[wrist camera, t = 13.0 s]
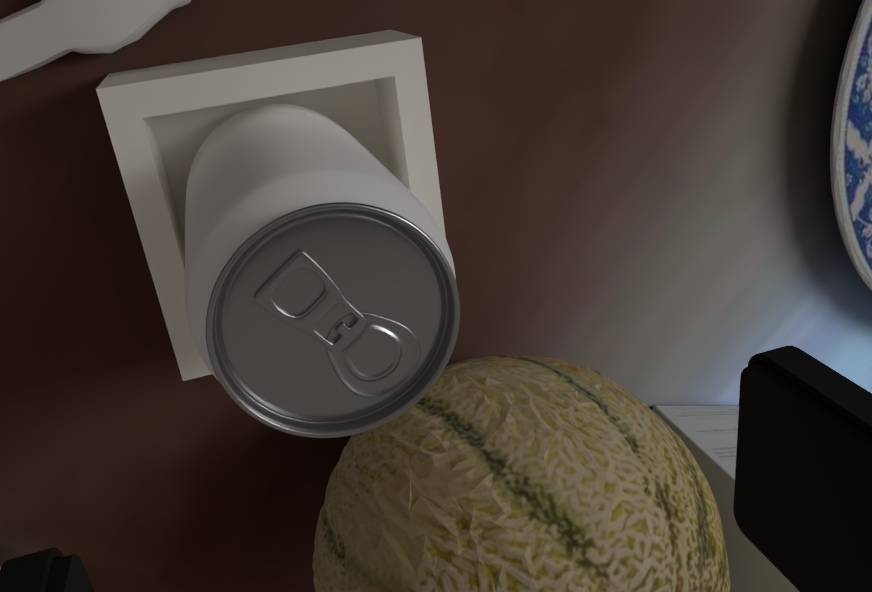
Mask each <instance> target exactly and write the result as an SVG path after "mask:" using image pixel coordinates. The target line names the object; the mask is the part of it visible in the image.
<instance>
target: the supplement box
mask: <svg viewBox="0 0 872 592" xmlns="http://www.w3.org/2000/svg"><path fill="white" fill-rule="evenodd" d="M652 411H653V412H655V413H656V414H657V415H658V416H659V417H660V418H661V419H662V420H663V421H664V422H665V423H666V424H667V425H668V426H669V427H670V428H671V429H672V430H673V431H674V432H675V433H676V434H677V435H678V436H679V437H680V438H681V439H682V441H683V442H684V444H685V445H686V446H687V448H688V449H689V451H690V452H691V454H692V455H693V457H694V458H695V460H696V462H697V463H698V465H699V467H700V469H701V470H702V472H703V474H704V476H705V478H706V479H707V481H708V484H709V486H710V489H711V491H712V494H713V496H714V499H715V501H716V504H717V508H718V512H719V515H720V519H721V524H722V530H723V537H724V542H725V548H726V553H727V559H728V568H729V578H730V592H799V590H798V589H797V588H796V587H795V586H794V585H793V584H792V583H791V582H790V581H789V580H788V579H787V578H786V577H785V576H784V575H783V574H782V573H781V572H780V571H779V570H778V569H777V568H776V567H775V566H774V565H773V564H772V563H771V562H770V561H769V560H768V559H767V558H766V557H765V556H764V555H763V554H762V553H761V552H760V551H759V550H758V549H757V548H756V547H755V546H754V545H753V544H752V543H751V542H750V541H749V540H748V538H747V537H746V536H745V535H744V534H743V533H742V532H741V530H740V529H739V527H738V525H737V523H736V520H735V517H734V511H733V505H734V487H735V469H736V451H737V434H738V416H739V405H731V406H653V408H652Z"/></svg>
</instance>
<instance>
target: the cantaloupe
mask: <svg viewBox="0 0 872 592" xmlns="http://www.w3.org/2000/svg"><path fill="white" fill-rule="evenodd" d="M314 545H315V550H314V553H313V563H312V567H313V571H314V581H313V582H314V587H315V592H730V578H729V568H728V559H727V553H726V548H725V542H724V537H723V530H722V524H721V519H720V515H719V512H718V508H717V504H716V501H715V499H714V496H713V494H712V491H711V489H710V486H709V484H708V481H707V479H706V478H705V476H704V474H703V472H702V470H701V469H700V467H699V465H698V463H697V462H696V460H695V458H694V457H693V455H692V454H691V452H690V451H689V449H688V448H687V446H686V445H685V444H684V442H683V441H682V439H681V438H680V437H679V436H678V435H677V434H676V433H675V432H674V431H673V430H672V429H671V428H670V427H669V426H668V425H667V424H666V423H665V422H664V421H663V420H662V419H661V418H660V417H659V416H658V415H657V414H656V413H655V412H653V411H652V410H651V409H650V408H648V407H647V406H646V404H645V403H644V402H643V401H641V400H640V399H638V398H637V397H635V396H634V395H633V394H631V393H630V392H629V391H628V390H627V389H626V388H625V387H624V386H622V385H620V384H618V383H617V382H615V381H613V380H611V379H610V378H608V377H606V376H604V375H603V374H601V373H599V372H597V371H594V370H591V369H589V368H587V367H585V366H578V365H573V364H571V363H569V362H567V361H565V360H562V359H556V358H550V357H540V356H536V355H508V354H506V355H503V356H500V357H495V356H485V357H482V358H475V359H465V360H462V361H460V362H457V363H454V364H451V365H448V366H446V367H445V369H444V371H443V372H442V374H441V376H440V377H439V378H438V380H437V381H436V383H435V384H434V385H433V386H432V388H431V389H430V390H429V391H428V392H427V393H426V394H425V395H424V396H423V397H422V398H421V399H420V400H419V401H418V402H417V403H416V404H415V405H414V406H412V407H411V408H410V409H409V410H407V411H406V412H404V413H403V414H401V415H400V416H398V417H397V418H395V419H393V420H391V421H390V422H388V423H386V424H384V425H381V426H379V427H377V428H374V429H372V430H369V431H366V432H363V433H359V434H355V435H351V437H350V439H349V441H348V443H347V445H346V446H345V447H344V449H343V451H342V454H341V456H340V459H339V461H338V463H337V465H336V466H335V468H334V469H333V471H332V473H331V475H330V478H329V482H328V485H327V488H326V495H325V502H324V504H323V506H322V508H321V510H320V514H319V518H318V523H317V527H316V533H315V541H314Z"/></svg>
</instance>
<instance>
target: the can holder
mask: <svg viewBox="0 0 872 592" xmlns="http://www.w3.org/2000/svg"><path fill="white" fill-rule="evenodd" d="M96 91H97V95H98V98H99V101H100V105H101V108H102V112H103V115H104V118H105V122H106V125H107V128H108V132H109V135H110V138H111V142H112V145H113V148H114V152H115V155H116V158H117V162H118V165H119V168H120V172H121V175H122V179H123V182H124V185H125V189H126V192H127V195H128V199H129V202H130V205H131V209H132V212H133V215H134V219H135V222H136V225H137V229H138V232H139V235H140V239H141V242H142V245H143V249H144V252H145V256H146V259H147V262H148V266H149V269H150V272H151V276H152V279H153V282H154V286H155V289H156V292H157V296H158V299H159V302H160V306H161V309H162V312H163V316H164V319H165V322H166V326H167V329H168V333H169V336H170V339H171V343H172V346H173V349H174V353H175V356H176V359H177V363H178V366H179V369H180V373H181V376H182V379H183V381H186V380H190V379H194V378H198V377H202V376H206V375H211V374H212V373H211V372H210V370H209V369H208V367H207V366H206V365H205V363H204V361H203V360H202V358H201V356H200V354H199V352H198V350H197V348H196V346H195V343H194V340H193V338H192V334H191V331H190V327H189V323H188V319H187V312H186V301H185V211H186V189H187V181H188V175H189V171H190V168H191V165H192V162H193V160H194V157H195V155H196V153H197V151H198V150H199V148H200V146H201V145H202V143H203V142H204V141H205V139H206V138H207V137H208V136H209V134H210V133H211V132H212V131H213V130H214V129H215V128H216V127H218V126H219V125H220V124H221V123H223V122H224V121H225V120H227V119H228V118H230V117H232V116H233V115H235V114H237V113H239V112H242V111H244V110H247V109H250V108H253V107H257V106H261V105H268V104H290V105H296V106H301V107H305V108H308V109H311V110H314V111H316V112H319V113H321V114H323V115H325V116H327V117H328V118H330V119H331V120H333V121H334V122H336V123H337V124H338V125H340V126H341V127H342V128H343V129H345V130H346V131H347V132H348V133H349V134H350V135H351V136H353V137H354V138H355V139H356V140H357V141H358V142H359V143H360V144H361V145H362V146H363V147H364V148H365V149H367V150H368V151H369V152H370V153H371V154H372V155H373V156H374V157H375V158H376V159H377V160H378V161H379V162H380V163H381V164H382V165H383V166H384V167H386V168H387V169H388V170H389V171H390V172H391V173H392V174H393V175H394V176H395V177H396V178H397V179H398V180H399V181H400V182H401V183H402V184H403V185H404V186H405V187H406V188H407V189H408V190H409V191H410V192H411V193H412V194H413V195H414V196H415V197H416V198H417V199H418V200H419V201H420V202H421V203H422V204H423V206H424V207H425V208H426V209H427V210H428V211H429V213H430V214H431V215H432V217H433V218H434V220H435V221H436V223H437V224H438V226H439V228H440V229H441V231H442V233H443V235H444V237H445V239H446V236H445V228H444V220H443V212H442V203H441V195H440V187H439V179H438V171H437V163H436V154H435V146H434V138H433V130H432V122H431V114H430V105H429V97H428V89H427V81H426V73H425V65H424V56H423V48H422V40H421V37H417V36H413V35H409V34H406V33H402V32H398V31H394V30H386V31H379V32H373V33H367V34H360V35H354V36H347V37H341V38H334V39H328V40H322V41H315V42H309V43H302V44H296V45H289V46H283V47H276V48H270V49H264V50H257V51H251V52H244V53H238V54H231V55H225V56H219V57H212V58H206V59H199V60H193V61H186V62H180V63H173V64H167V65H161V66H154V67H148V68H141V69H135V70H128V71H122V72H116V73H109V74H108V75H107V76H106V78H105V79H104V80H103V81H102V82H101V84H100V85H99V86H98V87H97V88H96Z"/></svg>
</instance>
